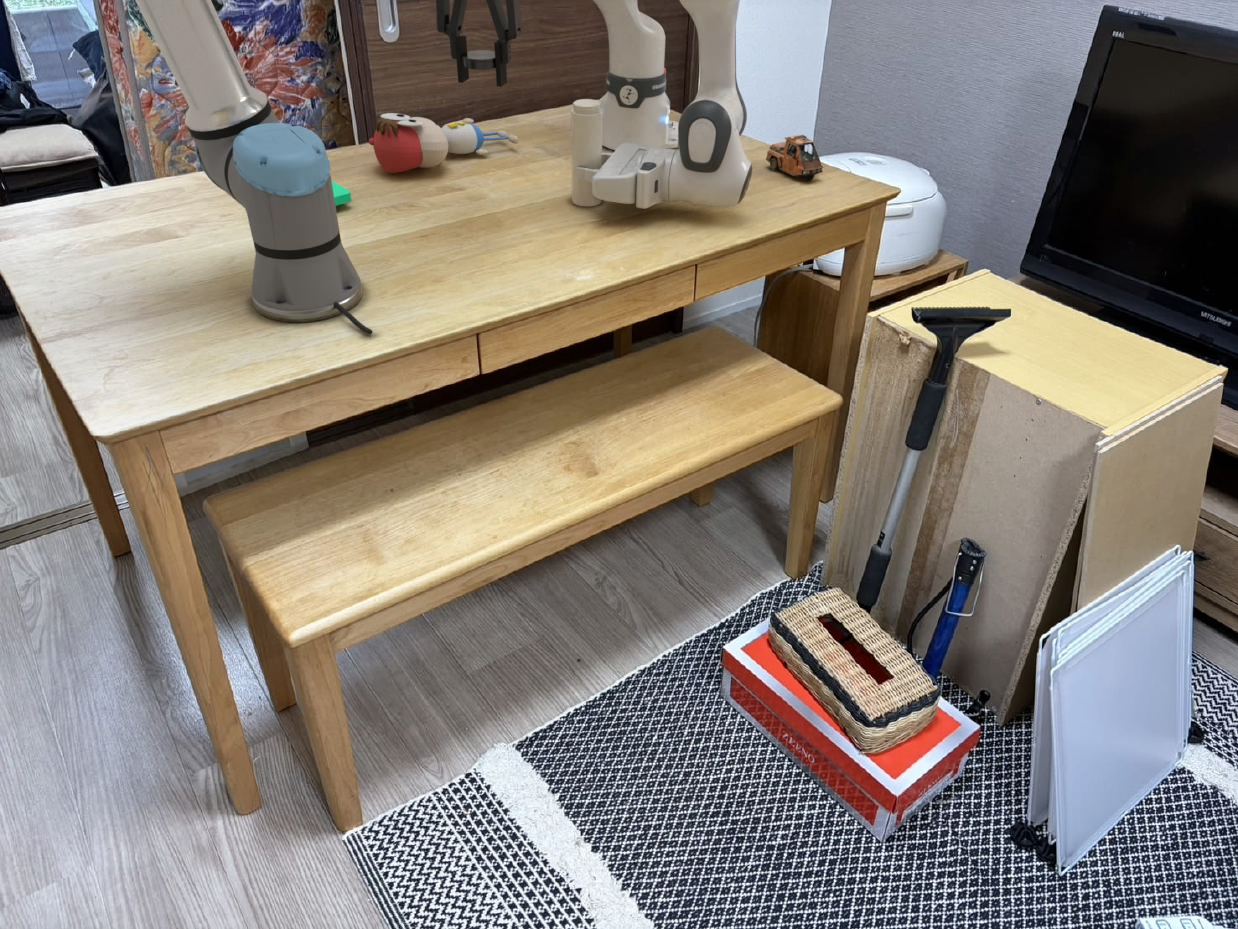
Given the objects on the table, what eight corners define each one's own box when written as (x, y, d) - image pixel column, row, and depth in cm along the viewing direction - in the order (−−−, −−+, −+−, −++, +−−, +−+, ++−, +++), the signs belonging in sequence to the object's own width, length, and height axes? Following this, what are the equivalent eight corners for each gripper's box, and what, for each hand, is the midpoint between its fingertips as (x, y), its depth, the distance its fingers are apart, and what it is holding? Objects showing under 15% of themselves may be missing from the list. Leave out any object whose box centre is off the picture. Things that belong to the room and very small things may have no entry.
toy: (535, 119, 180) (386, 123, 165) (533, 173, 185) (388, 181, 170) (493, 104, 193) (352, 106, 178) (493, 155, 198) (355, 160, 183)
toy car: (782, 160, 188) (786, 126, 183) (827, 178, 180) (833, 142, 176) (760, 167, 184) (764, 131, 180) (805, 184, 177) (810, 148, 173)
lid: (469, 58, 151) (469, 48, 150) (505, 61, 150) (505, 51, 149) (457, 68, 146) (456, 57, 145) (494, 71, 145) (493, 60, 145)
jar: (581, 193, 171) (581, 96, 161) (606, 199, 169) (608, 101, 159) (566, 202, 167) (565, 103, 157) (591, 208, 165) (592, 108, 155)
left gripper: (401, -84, 135) (419, 82, 149) (524, -76, 131) (530, 94, 145) (423, -90, 141) (438, 71, 155) (541, -82, 137) (545, 81, 151)
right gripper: (671, 138, 168) (598, 130, 170) (644, 175, 152) (564, 166, 155) (669, 172, 172) (597, 164, 174) (642, 212, 156) (564, 202, 158)
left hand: (482, 81), depth 150 cm, fingers closed on lid, 6 cm apart
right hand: (581, 165), depth 164 cm, fingers closed on jar, 5 cm apart
